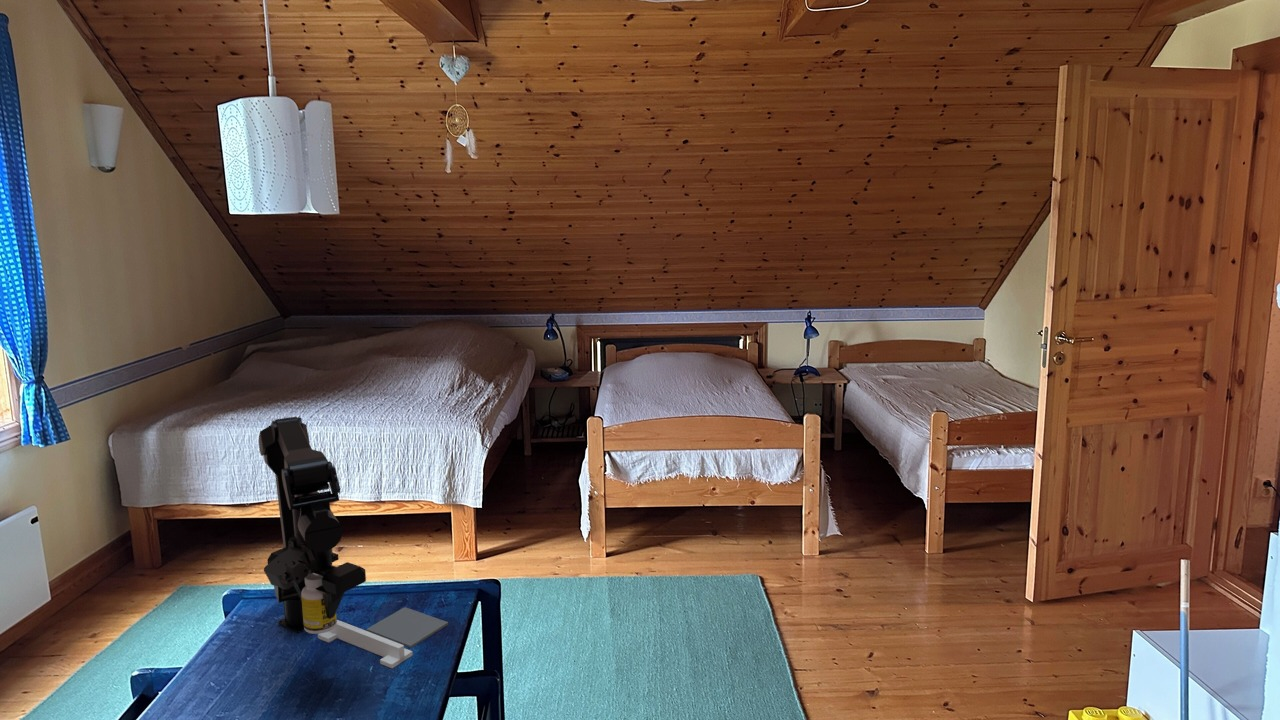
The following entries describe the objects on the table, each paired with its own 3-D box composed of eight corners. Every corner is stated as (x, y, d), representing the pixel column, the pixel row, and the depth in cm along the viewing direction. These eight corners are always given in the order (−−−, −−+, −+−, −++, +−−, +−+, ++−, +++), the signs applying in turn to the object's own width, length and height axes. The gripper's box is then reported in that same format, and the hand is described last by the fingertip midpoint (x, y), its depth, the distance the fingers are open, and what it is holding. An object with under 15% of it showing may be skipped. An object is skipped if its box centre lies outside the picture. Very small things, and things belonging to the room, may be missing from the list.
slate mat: (366, 631, 160) (366, 629, 160) (404, 609, 168) (404, 607, 168) (410, 648, 154) (410, 646, 154) (448, 624, 162) (448, 622, 162)
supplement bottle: (326, 636, 140) (321, 583, 138) (297, 633, 141) (292, 580, 139) (343, 620, 145) (339, 569, 143) (316, 617, 146) (311, 566, 144)
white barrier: (318, 638, 157) (316, 624, 157) (339, 626, 161) (338, 612, 161) (392, 668, 147) (390, 653, 147) (412, 655, 152) (411, 640, 151)
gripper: (235, 534, 137) (244, 619, 140) (308, 560, 128) (316, 650, 131) (292, 512, 146) (300, 592, 149) (364, 534, 137) (371, 619, 140)
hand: (319, 613), depth 142 cm, fingers closed on supplement bottle, 5 cm apart
